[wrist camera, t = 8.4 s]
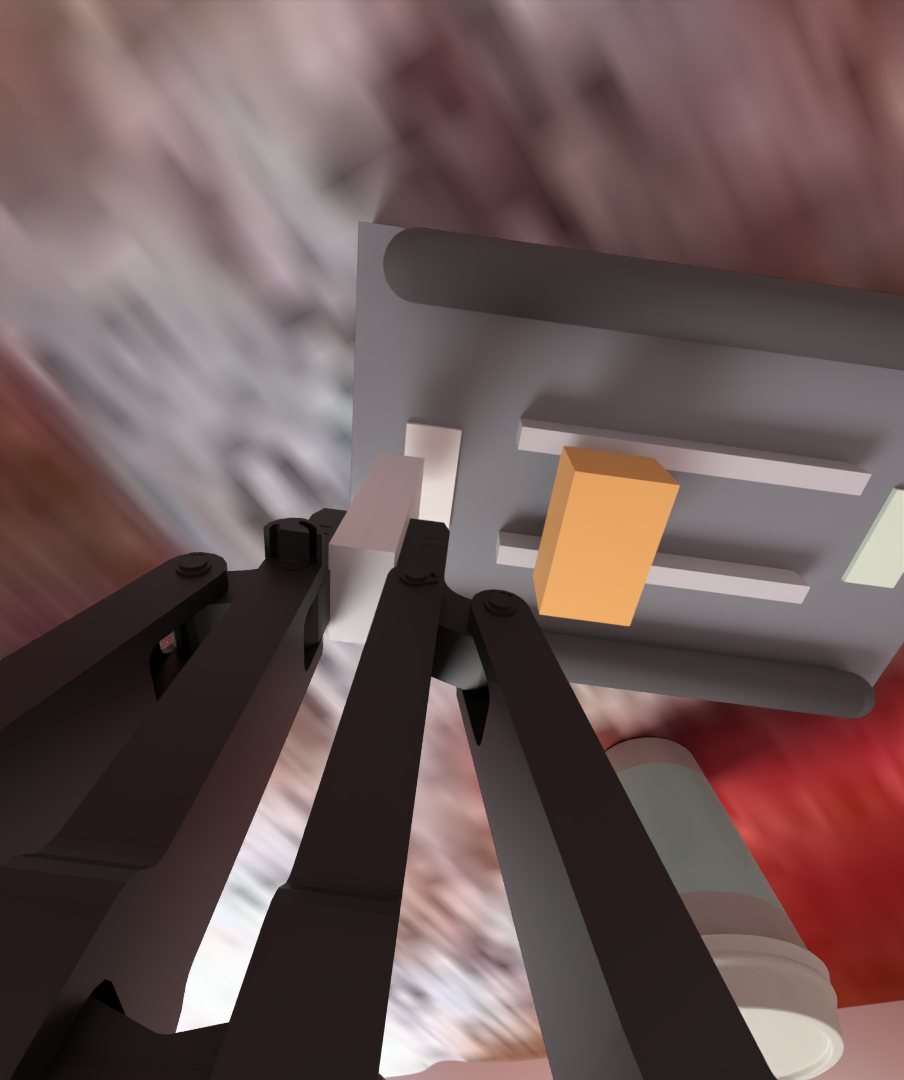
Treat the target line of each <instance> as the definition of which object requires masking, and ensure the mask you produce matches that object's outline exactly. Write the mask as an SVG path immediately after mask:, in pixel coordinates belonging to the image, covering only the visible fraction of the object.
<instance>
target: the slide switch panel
mask: <svg viewBox="0 0 904 1080" xmlns="http://www.w3.org/2000/svg"><path fill="white" fill-rule="evenodd" d="M405 229H409V228H403V227H396V226H389V225H382V224H375V223H368V222H360V221H359V230H358V262H357V295H356V328H355V360H354V393H353V426H352V458H351V491H350V506H351V504H352V502H353V500H354V499H355V497H356V495H357V493H358V492H359V490H360V488H361V486H362V485H363V483H364V481H365V479H366V478H367V476H368V474H369V472H370V471H371V469H372V467H373V465H374V464H375V462H376V460H377V458H378V456H379V455H380V453H381V452H382V453H389V454H397V455H404V456H412V457H419V458H425V460H424V471H423V481H422V491H421V501H420V511H419V519H421V520H428V521H436V522H444V523H445V525H446V526H447V528H448V529H449V531H450V536H449V544H448V552H447V559H446V567H445V575H444V578H445V582H446V584H447V586H448V587H449V588H450V589H451V590H452V591H454V592H456V593H457V594H459V595H461V596H464V597H466V598H469V599H472V598H473V597H474V595H475V594H476V593H479V592H481V591H483V590H490V589H497V590H505V591H508V592H511V593H514V594H516V595H517V596H519V597H521V598H522V599H523V600H524V601H525V602H526V603H527V604H528V605H529V607H530V609H531V611H532V613H533V615H534V617H535V619H536V621H537V623H538V625H539V626H540V628H541V630H542V631H546V632H554V633H561V634H569V635H577V636H584V637H592V638H599V639H607V640H615V641H622V642H630V643H638V644H645V645H653V646H660V647H668V648H676V649H683V650H691V651H699V652H706V653H714V654H721V655H729V656H737V657H744V658H752V659H760V660H767V661H775V662H782V663H790V664H798V665H805V666H813V667H821V668H828V669H836V670H843V671H849V672H853V673H855V674H858V675H860V676H861V677H863V678H864V679H865V680H866V681H868V683H869V684H870V685H871V686H872V687H873V686H874V685H875V683H876V682H877V680H878V679H879V677H880V676H881V674H882V673H883V671H884V670H885V669H886V667H887V666H888V664H889V663H890V661H891V660H892V658H893V657H894V656H895V654H896V653H897V651H898V650H899V648H900V647H901V645H902V644H903V642H904V371H902V370H895V369H888V368H881V367H873V366H866V365H859V364H852V363H845V362H837V361H830V360H823V359H816V358H808V357H801V356H794V355H787V354H779V353H772V352H765V351H758V350H750V349H743V348H736V347H729V346H721V345H714V344H707V343H700V342H693V341H685V340H678V339H671V338H664V337H656V336H649V335H642V334H635V333H627V332H620V331H613V330H606V329H598V328H591V327H584V326H577V325H570V324H562V323H555V322H548V321H541V320H533V319H526V318H519V317H512V316H504V315H497V314H490V313H483V312H475V311H468V310H461V309H454V308H446V307H439V306H432V305H425V304H418V303H412V302H408V301H406V300H404V299H402V298H400V297H399V296H397V295H396V294H395V293H394V292H393V291H392V290H391V288H390V286H389V285H388V283H387V281H386V278H385V275H384V270H383V258H384V254H385V250H386V248H387V246H388V244H389V242H390V241H391V239H392V238H393V237H394V236H395V235H396V234H398V233H399V232H401V231H403V230H405ZM563 446H570V447H577V448H584V449H592V450H599V451H607V452H614V453H621V454H629V455H636V456H644V457H651V458H655V459H656V460H657V461H658V462H659V463H660V464H661V465H662V466H663V468H664V469H665V470H666V471H667V472H668V473H669V474H670V475H671V476H672V477H673V478H674V479H675V480H676V481H677V483H678V484H679V485H680V487H679V490H678V493H677V496H676V498H675V501H674V504H673V507H672V510H671V512H670V515H669V518H668V521H667V524H666V526H665V529H664V532H663V535H662V537H661V540H660V543H659V546H658V549H657V551H656V554H655V557H654V560H653V563H652V565H651V568H650V571H649V574H648V576H647V579H646V582H645V585H644V588H643V590H642V593H641V596H640V599H639V602H638V604H637V607H636V610H635V613H634V616H633V618H632V621H631V624H630V626H623V625H616V624H608V623H600V622H593V621H585V620H578V619H570V618H562V617H555V616H547V615H540V614H539V610H538V604H537V598H536V592H535V586H534V580H533V573H534V568H535V564H536V560H537V555H538V551H539V547H540V542H541V538H542V534H543V530H544V525H545V521H546V517H547V512H548V508H549V504H550V500H551V495H552V491H553V487H554V482H555V478H556V474H557V469H558V465H559V461H560V457H561V452H562V448H563Z"/></svg>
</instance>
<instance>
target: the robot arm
mask: <svg viewBox="0 0 904 1080" xmlns="http://www.w3.org/2000/svg"><path fill="white" fill-rule="evenodd" d="M424 460H425V458H419V457H412V456H404V455H397V454H389V453H382V452H381V453H380V455H379V456H378V458H377V460H376V462H375V464H374V465H373V467H372V469H371V471H370V472H369V474H368V476H367V478H366V479H365V481H364V483H363V485H362V486H361V488H360V490H359V492H358V493H357V495H356V497H355V499H354V500H353V502H352V504H351V506H350V507H349V509H348V511H343V510H336V509H328V508H324V509H322V510H320V511H318V512H316V513H314V514H312V516H311V517H310V519H309V520H307V519H303V518H285V519H279V520H276V521H273V522H270V523H268V524H267V525H266V526H264V542H265V558H266V559H265V560H264V561H263V563H262V564H261V565H260V567H259V568H258V569H254V570H243V571H227V563H226V562H225V560H224V559H223V558H222V557H220V556H218V555H215V554H210V553H204V552H198V553H197V552H194V553H189V554H185V555H180V556H177V557H175V558H173V559H171V560H168V561H167V562H165V563H163V564H162V565H160V566H158V567H157V568H155V569H153V570H152V571H150V572H148V573H147V574H145V575H143V576H142V577H140V578H138V579H137V580H135V581H133V582H131V583H130V584H128V585H126V586H125V587H123V588H121V589H120V590H118V591H116V592H115V593H113V594H111V595H110V596H108V597H106V598H105V599H103V600H101V601H100V602H98V603H96V604H95V605H93V606H91V607H90V608H88V609H86V610H84V611H83V612H81V613H79V614H78V615H76V616H74V617H73V618H71V619H69V620H68V621H66V622H64V623H63V624H61V625H59V626H58V627H56V628H54V629H53V630H51V631H49V632H48V633H46V634H44V635H42V636H41V637H39V638H37V639H36V640H34V641H32V642H31V643H29V644H27V645H26V646H24V647H22V648H21V649H19V650H17V651H16V652H14V653H12V654H11V655H9V656H7V657H6V658H4V659H2V660H1V661H0V1080H385V1079H384V1078H383V1077H382V1075H380V1074H379V1065H380V1058H381V1050H382V1043H383V1035H384V1028H385V1020H386V1013H387V1005H388V998H389V990H390V983H391V975H392V968H393V960H394V952H395V945H396V937H397V930H398V922H399V915H400V907H401V900H402V892H403V885H404V877H405V869H406V862H407V854H408V847H409V839H410V832H411V824H412V817H413V809H414V802H415V794H416V787H417V779H418V772H419V764H420V757H421V749H422V742H423V734H424V727H425V719H426V711H427V704H428V696H429V689H430V681H431V677H433V678H436V679H438V680H441V681H443V682H446V683H448V684H451V685H453V686H456V687H457V699H458V703H459V707H460V711H461V715H462V719H463V723H464V727H465V731H466V735H467V739H468V743H469V747H470V751H471V755H472V758H473V762H474V766H475V770H476V774H477V778H478V782H479V786H480V790H481V794H482V798H483V802H484V806H485V810H486V814H487V818H488V822H489V826H490V830H491V834H492V838H493V842H494V846H495V850H496V854H497V858H498V862H499V866H500V870H501V874H502V878H503V882H504V885H505V889H506V893H507V897H508V901H509V905H510V909H511V913H512V917H513V921H514V925H515V929H516V933H517V937H518V941H519V945H520V949H521V953H522V957H523V961H524V965H525V969H526V973H527V977H528V981H529V985H530V989H531V993H532V997H533V1001H534V1005H535V1009H536V1012H537V1016H538V1020H539V1024H540V1028H541V1032H542V1036H543V1040H544V1044H545V1048H546V1052H547V1056H548V1060H549V1064H550V1068H551V1072H552V1075H553V1080H777V1078H776V1077H775V1076H774V1074H773V1073H772V1072H771V1070H770V1068H769V1066H768V1064H767V1062H766V1060H765V1058H764V1056H763V1054H762V1052H761V1051H760V1049H759V1047H758V1045H757V1043H756V1041H755V1039H754V1037H753V1035H752V1033H751V1031H750V1029H749V1028H748V1026H747V1024H746V1022H745V1020H744V1018H743V1016H742V1014H741V1012H740V1010H739V1008H738V1006H737V1004H736V1003H735V1001H734V999H733V997H732V995H731V993H730V991H729V989H728V987H727V985H726V983H725V981H724V980H723V978H722V976H721V974H720V972H719V970H718V968H717V966H716V964H715V962H714V960H713V958H712V957H711V955H710V953H709V951H708V949H707V947H706V945H705V943H704V941H703V939H702V937H701V935H700V933H699V932H698V930H697V928H696V926H695V924H694V922H693V920H692V918H691V916H690V914H689V912H688V910H687V909H686V907H685V905H684V903H683V901H682V899H681V897H680V895H679V893H678V891H677V889H676V887H675V886H674V884H673V882H672V880H671V878H670V876H669V874H668V872H667V870H666V868H665V866H664V864H663V862H662V861H661V859H660V857H659V855H658V853H657V851H656V849H655V847H654V845H653V843H652V841H651V839H650V838H649V836H648V834H647V832H646V830H645V828H644V826H643V824H642V822H641V820H640V818H639V816H638V814H637V813H636V811H635V809H634V807H633V805H632V803H631V801H630V799H629V797H628V795H627V793H626V791H625V790H624V788H623V786H622V784H621V782H620V780H619V778H618V776H617V774H616V772H615V770H614V768H613V767H612V765H611V763H610V761H609V759H608V757H607V755H606V753H605V751H604V749H603V747H602V745H601V743H600V742H599V740H598V738H597V736H596V734H595V732H594V730H593V728H592V726H591V724H590V722H589V720H588V719H587V717H586V715H585V713H584V711H583V709H582V707H581V705H580V703H579V701H578V699H577V697H576V696H575V694H574V692H573V690H572V688H571V686H570V684H569V682H568V680H567V678H566V676H565V674H564V672H563V671H562V669H561V667H560V665H559V663H558V661H557V659H556V657H555V655H554V653H553V651H552V649H551V648H550V646H549V644H548V642H547V640H546V638H545V636H544V634H543V632H542V630H541V628H540V626H539V625H538V623H537V621H536V619H535V617H534V615H533V613H532V611H531V609H530V607H529V605H528V604H527V603H526V602H525V601H524V600H523V599H522V598H521V597H519V596H517V595H516V594H514V593H511V592H508V591H505V590H497V589H490V590H483V591H481V592H479V593H476V594H475V595H474V597H473V598H472V599H469V598H466V597H464V596H461V595H459V594H457V593H456V592H454V591H452V590H451V589H450V588H449V587H448V586H447V584H446V582H445V578H444V575H445V567H446V559H447V552H448V544H449V536H450V531H449V529H448V528H447V526H446V525H445V523H444V522H436V521H428V520H421V519H419V511H420V501H421V491H422V481H423V471H424ZM327 625H328V640H335V641H343V642H351V643H358V644H365V645H364V649H363V652H362V655H361V658H360V661H359V664H358V667H357V670H356V673H355V676H354V680H353V683H352V686H351V689H350V692H349V695H348V698H347V701H346V704H345V707H344V711H343V714H342V717H341V720H340V723H339V726H338V729H337V732H336V735H335V738H334V742H333V745H332V748H331V751H330V754H329V757H328V760H327V763H326V766H325V769H324V772H323V776H322V779H321V782H320V785H319V788H318V791H317V794H316V797H315V800H314V803H313V807H312V810H311V813H310V816H309V819H308V822H307V825H306V828H305V831H304V834H303V838H302V841H301V844H300V847H299V850H298V853H297V856H296V859H295V862H294V865H293V868H292V871H291V874H290V876H289V878H288V880H287V882H286V883H285V884H284V885H282V886H281V887H279V888H278V890H277V891H276V893H275V895H274V897H273V899H272V901H271V903H270V906H269V909H268V911H267V914H266V916H265V919H264V922H263V925H262V927H261V930H260V933H259V936H258V939H257V942H256V945H255V948H254V951H253V954H252V957H251V960H250V963H249V966H248V969H247V971H246V974H245V977H244V980H243V983H242V986H241V989H240V992H239V995H238V998H237V1001H236V1004H235V1007H234V1010H233V1012H232V1015H231V1018H230V1021H229V1022H228V1023H223V1024H218V1025H213V1026H208V1027H203V1028H198V1029H194V1030H189V1031H184V1032H179V1033H175V1032H176V1029H177V1025H178V1021H179V1018H180V1014H181V1010H182V1004H183V998H184V992H185V986H186V982H187V978H188V975H189V971H190V969H191V966H192V963H193V961H194V958H195V956H196V953H197V951H198V948H199V946H200V944H201V941H202V939H203V937H204V934H205V932H206V929H207V927H208V925H209V922H210V920H211V917H212V915H213V913H214V910H215V908H216V905H217V903H218V901H219V898H220V896H221V894H222V891H223V889H224V886H225V884H226V882H227V879H228V877H229V874H230V872H231V870H232V867H233V865H234V862H235V860H236V858H237V855H238V853H239V851H240V848H241V846H242V843H243V841H244V839H245V836H246V834H247V831H248V829H249V827H250V824H251V822H252V820H253V817H254V815H255V812H256V810H257V808H258V805H259V803H260V800H261V798H262V796H263V793H264V791H265V788H266V786H267V784H268V781H269V779H270V777H271V774H272V772H273V769H274V767H275V765H276V762H277V760H278V757H279V755H280V753H281V750H282V748H283V745H284V743H285V741H286V738H287V736H288V734H289V731H290V729H291V726H292V724H293V722H294V719H295V717H296V714H297V712H298V710H299V707H300V705H301V702H302V700H303V698H304V695H305V693H306V691H307V688H308V686H309V683H310V681H311V679H312V676H313V674H314V671H315V669H316V667H317V664H318V662H319V659H320V657H321V655H322V650H323V634H324V632H325V629H326V627H327ZM170 633H171V638H172V644H171V645H169V646H168V647H167V648H165V649H163V650H161V648H160V644H159V642H160V641H161V640H162V639H163V638H165V637H166V636H167V635H169V634H170Z"/></svg>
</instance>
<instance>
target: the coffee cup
mask: <svg viewBox="0 0 904 1080" xmlns="http://www.w3.org/2000/svg"><path fill="white" fill-rule="evenodd" d="M605 753H606V755H607V757H608V759H609V761H610V763H611V765H612V767H613V768H614V770H615V772H616V774H617V776H618V778H619V780H620V782H621V784H622V786H623V788H624V790H625V791H626V793H627V795H628V797H629V799H630V801H631V803H632V805H633V807H634V809H635V811H636V813H637V814H638V816H639V818H640V820H641V822H642V824H643V826H644V828H645V830H646V832H647V834H648V836H649V838H650V839H651V841H652V843H653V845H654V847H655V849H656V851H657V853H658V855H659V857H660V859H661V861H662V862H663V864H664V866H665V868H666V870H667V872H668V874H669V876H670V878H671V880H672V882H673V884H674V886H675V887H676V889H677V891H678V893H679V895H680V897H681V899H682V901H683V903H684V905H685V907H686V909H687V910H688V912H689V914H690V916H691V918H692V920H693V922H694V924H695V926H696V928H697V930H698V932H699V933H700V935H701V937H702V939H703V941H704V943H705V945H706V947H707V949H708V951H709V953H710V955H711V957H712V958H713V960H714V962H715V964H716V966H717V968H718V970H719V972H720V974H721V976H722V978H723V980H724V981H725V983H726V985H727V987H728V989H729V991H730V993H731V995H732V997H733V999H734V1001H735V1003H736V1004H737V1006H738V1008H739V1010H740V1012H741V1014H742V1016H743V1018H744V1020H745V1022H746V1024H747V1026H748V1028H749V1029H750V1031H751V1033H752V1035H753V1037H754V1039H755V1041H756V1043H757V1045H758V1047H759V1049H760V1051H761V1052H762V1054H763V1056H764V1058H765V1060H766V1062H767V1064H768V1066H769V1068H770V1070H771V1072H772V1073H773V1074H774V1076H775V1077H776V1078H777V1080H808V1079H811V1078H813V1077H816V1076H817V1075H820V1074H821V1073H823V1072H825V1071H827V1070H828V1069H829V1068H831V1067H832V1066H833V1065H835V1064H836V1063H837V1062H838V1060H839V1059H840V1058H841V1056H842V1053H843V1051H844V1040H843V1036H842V1032H841V1028H840V1024H839V1020H838V1016H837V1012H836V1009H837V996H836V993H835V991H834V989H833V987H832V986H831V984H830V975H829V972H828V970H827V968H826V966H825V965H824V963H823V962H822V961H821V960H820V959H819V958H818V957H816V956H815V955H814V954H812V953H811V952H809V951H808V950H807V948H806V946H805V945H804V943H803V941H802V940H801V938H800V936H799V934H798V933H797V931H796V929H795V928H794V926H793V924H792V922H791V921H790V919H789V917H788V916H787V914H786V912H785V910H784V909H783V907H782V905H781V904H780V902H779V900H778V899H777V897H776V895H775V894H774V892H773V890H772V888H771V887H770V885H769V883H768V882H767V880H766V878H765V877H764V875H763V873H762V872H761V870H760V868H759V866H758V865H757V863H756V861H755V860H754V858H753V856H752V855H751V853H750V851H749V850H748V848H747V846H746V844H745V843H744V841H743V839H742V838H741V836H740V834H739V833H738V831H737V829H736V828H735V826H734V824H733V822H732V821H731V819H730V817H729V816H728V814H727V812H726V811H725V809H724V807H723V806H722V804H721V802H720V800H719V799H718V797H717V795H716V794H715V792H714V790H713V789H712V787H711V785H710V784H709V782H708V780H707V779H706V777H705V775H704V774H703V772H702V770H701V769H700V767H699V765H698V764H697V762H696V760H695V759H694V757H693V755H692V754H691V753H690V752H689V751H688V750H687V749H686V748H685V747H683V746H682V745H680V744H678V743H676V742H674V741H671V740H667V739H663V738H654V737H645V738H636V739H631V740H628V741H624V742H622V743H619V744H617V745H615V746H613V747H612V748H610V749H608V750H607V751H606V752H605Z"/></svg>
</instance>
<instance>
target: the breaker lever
mask: <svg viewBox="0 0 904 1080" xmlns="http://www.w3.org/2000/svg"><path fill="white" fill-rule="evenodd" d="M679 487H680V485H679V484H678V483H677V481H676V480H675V479H674V478H673V477H672V476H671V475H670V474H669V473H668V472H667V471H666V470H665V469H664V468H663V466H662V465H661V464H660V463H659V462H658V461H657V460H656V459H655V458H651V457H644V456H636V455H629V454H621V453H614V452H607V451H599V450H592V449H584V448H577V447H570V446H563V448H562V452H561V457H560V461H559V465H558V469H557V474H556V478H555V482H554V487H553V491H552V495H551V500H550V504H549V508H548V512H547V517H546V521H545V525H544V530H543V534H542V538H541V542H540V547H539V551H538V555H537V560H536V564H535V568H534V573H533V580H534V586H535V592H536V598H537V604H538V610H539V614H540V615H547V616H555V617H562V618H570V619H578V620H585V621H593V622H600V623H608V624H616V625H623V626H630V624H631V621H632V618H633V616H634V613H635V610H636V607H637V604H638V602H639V599H640V596H641V593H642V590H643V588H644V585H645V582H646V579H647V576H648V574H649V571H650V568H651V565H652V563H653V560H654V557H655V554H656V551H657V549H658V546H659V543H660V540H661V537H662V535H663V532H664V529H665V526H666V524H667V521H668V518H669V515H670V512H671V510H672V507H673V504H674V501H675V498H676V496H677V493H678V490H679Z"/></svg>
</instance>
